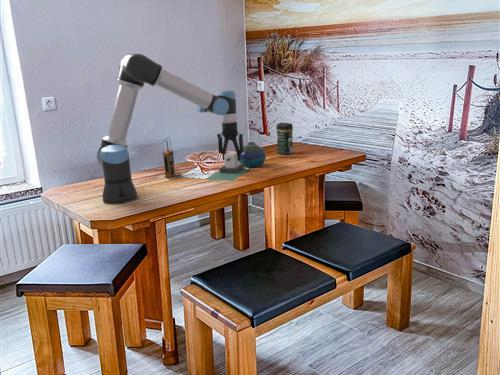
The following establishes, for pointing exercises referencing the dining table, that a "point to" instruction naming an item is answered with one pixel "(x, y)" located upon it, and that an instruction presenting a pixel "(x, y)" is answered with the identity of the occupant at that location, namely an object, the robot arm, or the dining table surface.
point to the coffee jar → (284, 138)
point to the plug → (230, 160)
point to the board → (228, 173)
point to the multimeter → (169, 162)
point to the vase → (253, 155)
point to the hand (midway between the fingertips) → (232, 166)
